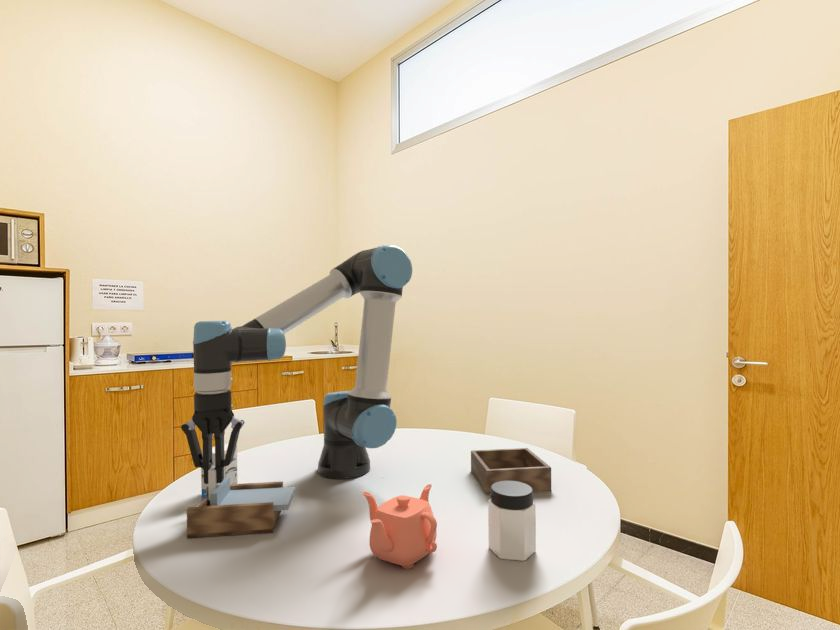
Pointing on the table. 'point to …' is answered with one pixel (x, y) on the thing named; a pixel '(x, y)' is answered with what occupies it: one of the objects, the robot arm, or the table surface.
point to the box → (233, 516)
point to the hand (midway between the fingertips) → (214, 497)
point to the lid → (252, 496)
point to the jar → (512, 520)
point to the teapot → (402, 528)
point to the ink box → (229, 470)
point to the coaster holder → (510, 468)
